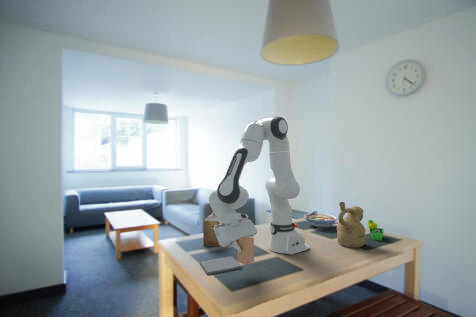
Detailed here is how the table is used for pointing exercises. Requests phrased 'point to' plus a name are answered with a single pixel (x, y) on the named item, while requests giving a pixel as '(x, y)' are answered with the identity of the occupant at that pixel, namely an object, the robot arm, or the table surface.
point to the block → (246, 250)
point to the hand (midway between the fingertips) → (246, 249)
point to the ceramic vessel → (350, 227)
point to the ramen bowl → (320, 219)
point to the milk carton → (210, 230)
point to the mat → (220, 265)
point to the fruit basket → (375, 230)
